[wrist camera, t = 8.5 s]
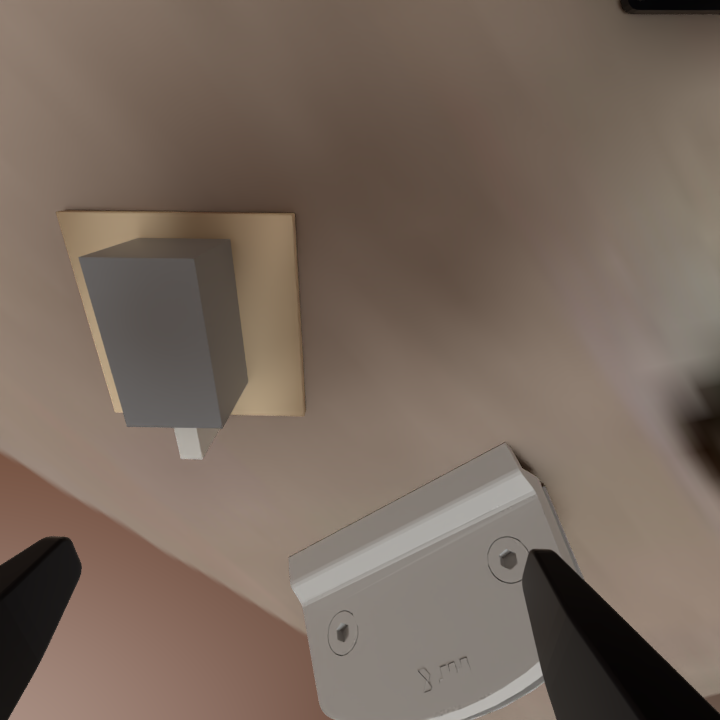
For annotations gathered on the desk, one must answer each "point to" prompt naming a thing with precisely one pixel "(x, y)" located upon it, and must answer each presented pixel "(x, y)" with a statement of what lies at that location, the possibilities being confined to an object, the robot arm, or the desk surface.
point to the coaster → (253, 283)
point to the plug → (171, 333)
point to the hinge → (430, 597)
